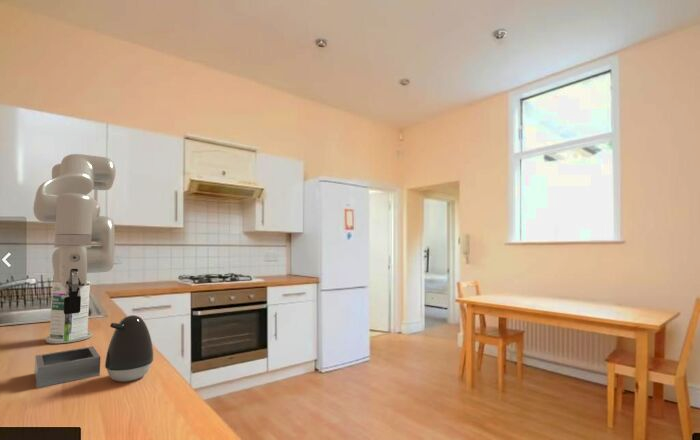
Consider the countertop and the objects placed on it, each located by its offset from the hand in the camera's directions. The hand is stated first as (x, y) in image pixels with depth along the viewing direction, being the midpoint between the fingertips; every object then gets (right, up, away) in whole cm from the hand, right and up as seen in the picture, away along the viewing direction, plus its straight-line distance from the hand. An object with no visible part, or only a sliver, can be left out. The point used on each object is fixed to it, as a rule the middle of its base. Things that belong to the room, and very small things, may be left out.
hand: (70, 310), depth 92 cm
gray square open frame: (0, -16, -1) cm, 16 cm away
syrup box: (0, -7, 0) cm, 7 cm away
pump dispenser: (+17, -16, -3) cm, 23 cm away
